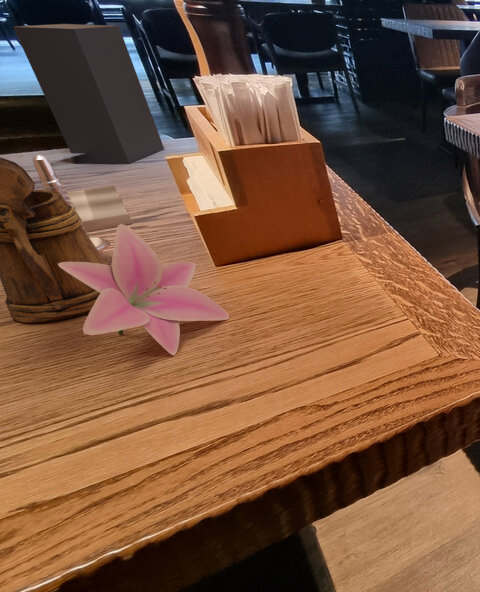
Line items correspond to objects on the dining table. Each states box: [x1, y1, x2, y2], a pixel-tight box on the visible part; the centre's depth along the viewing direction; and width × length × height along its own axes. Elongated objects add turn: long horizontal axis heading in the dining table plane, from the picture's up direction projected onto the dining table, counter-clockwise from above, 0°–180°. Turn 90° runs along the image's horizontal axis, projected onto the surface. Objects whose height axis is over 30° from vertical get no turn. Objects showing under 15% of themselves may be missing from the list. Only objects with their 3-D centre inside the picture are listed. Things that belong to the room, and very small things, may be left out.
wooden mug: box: [0, 157, 109, 324], centre depth 49 cm, size 9×14×18 cm, turn 35°
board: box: [66, 185, 133, 233], centre depth 75 cm, size 16×8×2 cm, turn 44°
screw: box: [32, 154, 111, 261], centre depth 59 cm, size 13×5×5 cm
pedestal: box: [12, 23, 165, 165], centre depth 96 cm, size 11×9×22 cm
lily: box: [58, 224, 230, 356], centre depth 48 cm, size 12×12×10 cm
